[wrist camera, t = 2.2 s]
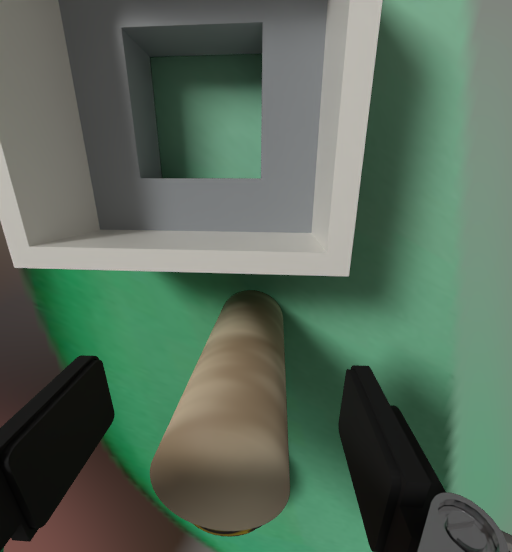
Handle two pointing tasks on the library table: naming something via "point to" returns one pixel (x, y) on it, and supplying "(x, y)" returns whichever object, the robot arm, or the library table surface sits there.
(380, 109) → the library table surface
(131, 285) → the library table surface
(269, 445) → the peg
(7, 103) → the bore box
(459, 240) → the library table surface
